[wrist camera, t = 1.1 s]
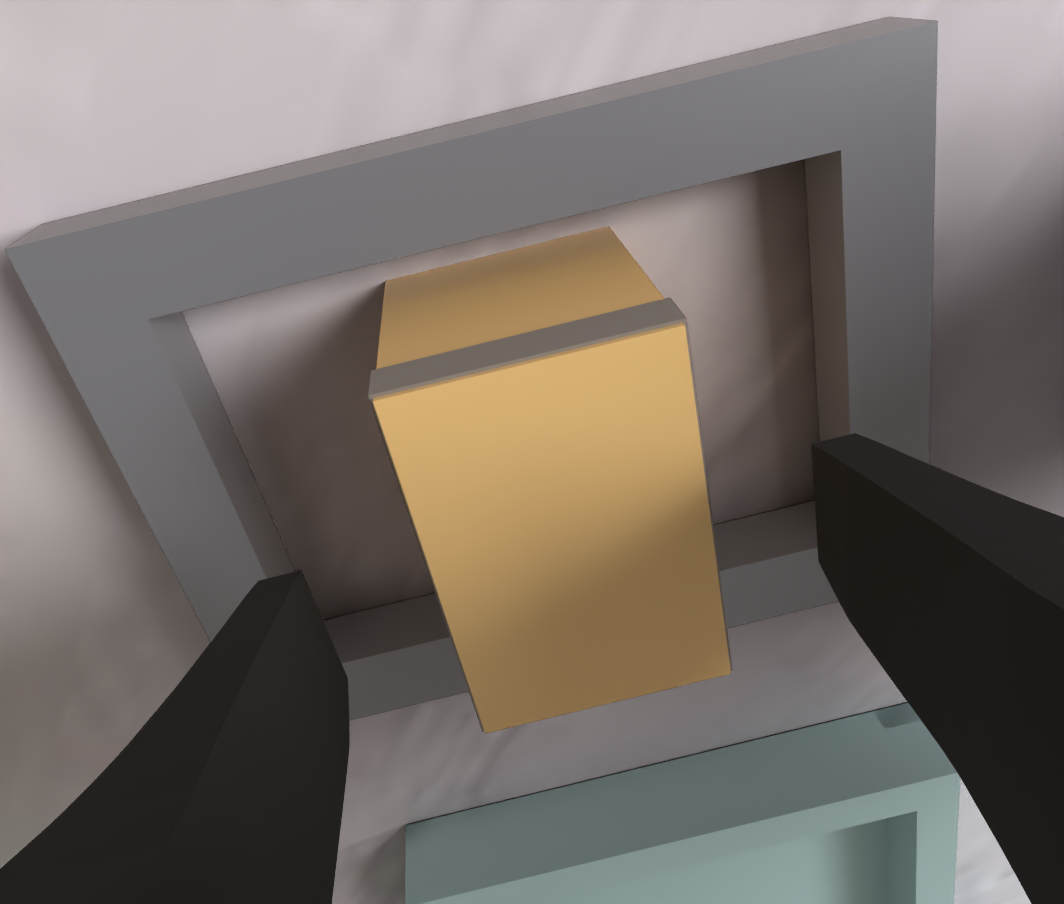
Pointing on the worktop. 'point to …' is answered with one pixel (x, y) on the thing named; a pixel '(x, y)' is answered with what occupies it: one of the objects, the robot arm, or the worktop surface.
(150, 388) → the grey rectangular frame
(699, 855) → the parts tray
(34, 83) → the worktop surface
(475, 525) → the tan box
